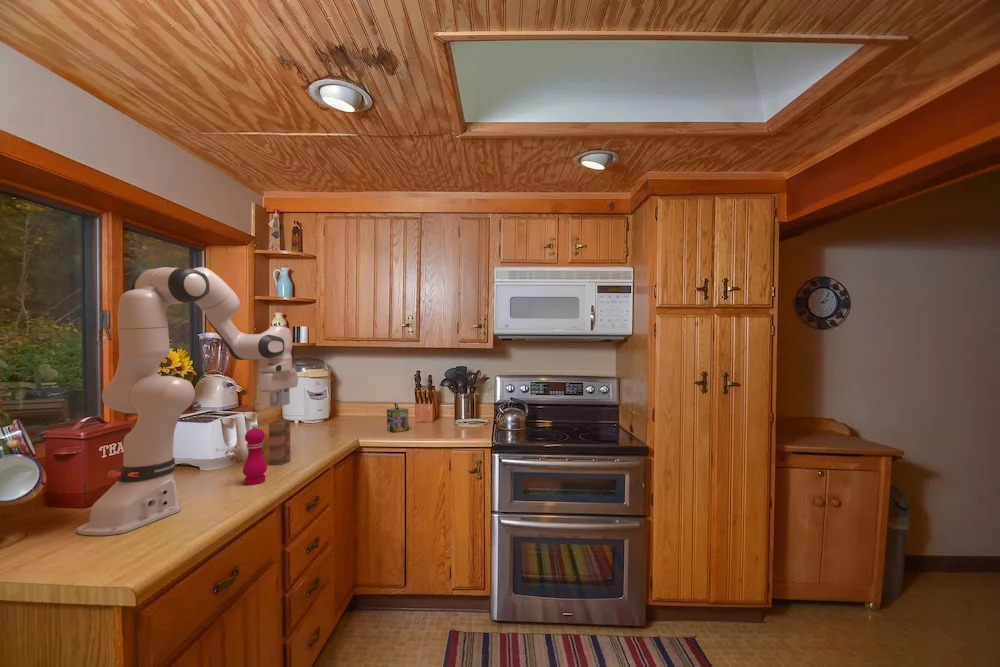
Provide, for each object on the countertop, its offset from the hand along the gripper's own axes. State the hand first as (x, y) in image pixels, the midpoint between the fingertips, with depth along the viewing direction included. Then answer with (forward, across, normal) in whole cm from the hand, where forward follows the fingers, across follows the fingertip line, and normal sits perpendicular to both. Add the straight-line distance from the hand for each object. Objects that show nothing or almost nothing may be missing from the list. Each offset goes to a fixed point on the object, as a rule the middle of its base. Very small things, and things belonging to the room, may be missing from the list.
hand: (279, 400), depth 169 cm
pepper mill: (+25, +22, +5) cm, 34 cm away
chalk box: (+25, -63, +27) cm, 73 cm away
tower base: (+25, 0, 0) cm, 25 cm away
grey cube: (+2, 0, 0) cm, 2 cm away
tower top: (+14, 0, 0) cm, 14 cm away
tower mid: (+19, 0, 0) cm, 19 cm away
